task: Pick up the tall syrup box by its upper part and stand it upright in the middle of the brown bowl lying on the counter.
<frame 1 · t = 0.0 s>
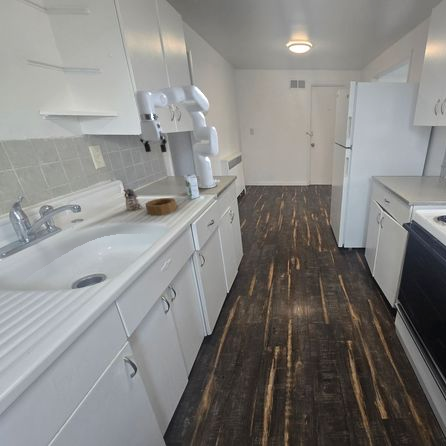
hand: (156, 151, 138), 31 cm above the counter, tool pointing down, fingers open, 9 cm apart
brown bowl: (162, 210, 143), on the counter
figurine: (134, 209, 146), on the counter
syrup box: (193, 197, 166), on the counter
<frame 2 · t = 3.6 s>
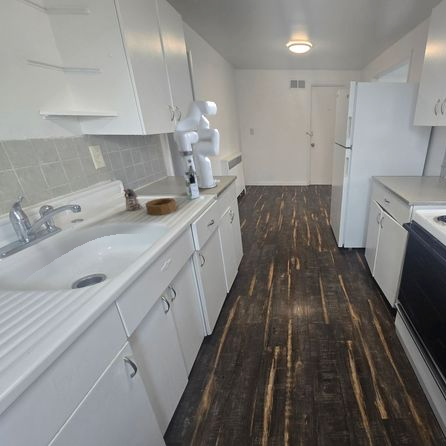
hand: (191, 182, 162), 10 cm above the counter, tool pointing down, fingers closed on syrup box, 6 cm apart
syrup box: (193, 197, 166), on the counter, touching gripper
everything else where it was.
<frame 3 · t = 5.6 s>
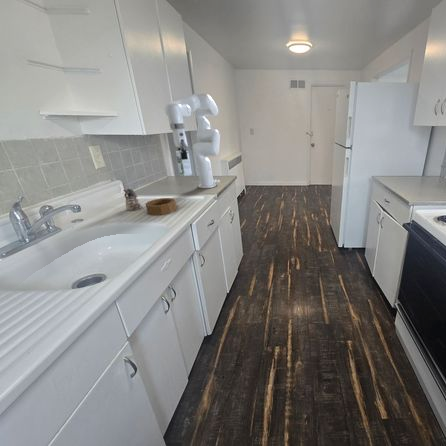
hand: (183, 158, 153), 25 cm above the counter, tool pointing down, fingers closed on syrup box, 6 cm apart
syrup box: (186, 175, 157), point 15 cm above the counter, touching gripper
everything else where it was.
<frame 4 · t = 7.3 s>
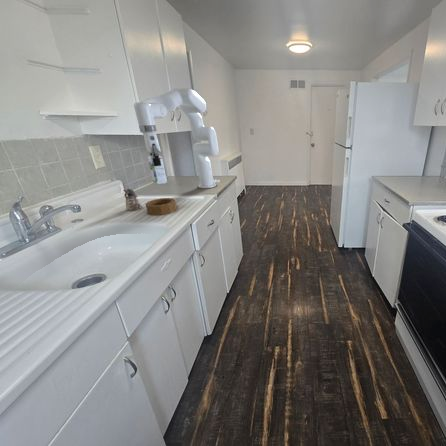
hand: (156, 164, 136), 25 cm above the counter, tool pointing down, fingers closed on syrup box, 6 cm apart
syrup box: (160, 183, 140), point 15 cm above the counter, touching gripper
everything else where it was.
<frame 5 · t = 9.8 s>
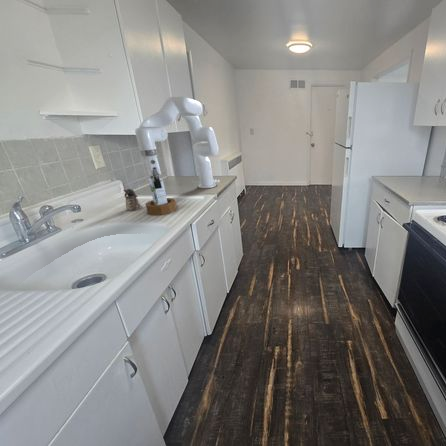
hand: (157, 186, 138), 14 cm above the counter, tool pointing down, fingers closed on syrup box, 6 cm apart
syrup box: (161, 204, 142), point 4 cm above the counter, touching gripper
everything else where it was.
when the fingers open (10 cm above the counter, at t = 11.3 s): syrup box stays where it is, resting in brown bowl.
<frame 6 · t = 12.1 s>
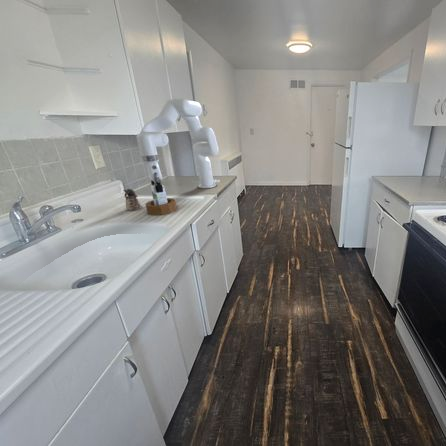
hand: (157, 190, 139), 12 cm above the counter, tool pointing down, fingers open, 9 cm apart
syrup box: (162, 210, 143), resting in brown bowl
everything else where it was.
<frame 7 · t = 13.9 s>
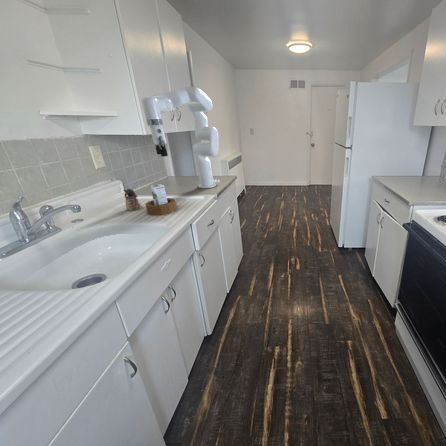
hand: (162, 155, 144), 29 cm above the counter, tool pointing down, fingers open, 9 cm apart
nothing on the counter moved.
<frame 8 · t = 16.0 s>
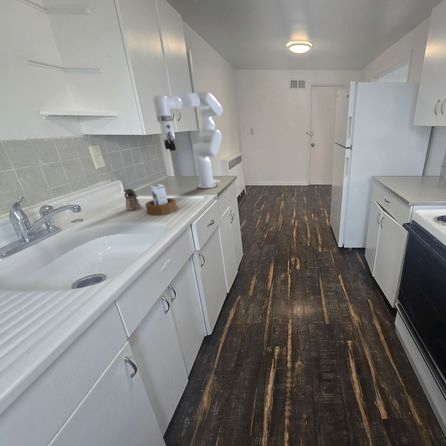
hand: (170, 149, 153), 30 cm above the counter, tool pointing down, fingers open, 9 cm apart
nothing on the counter moved.
at the end: syrup box 0.1 cm off-centre on the brown bowl, point 0.0 cm above the brown bowl's base; syrup box tilted 0°; the gripper is holding nothing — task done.
